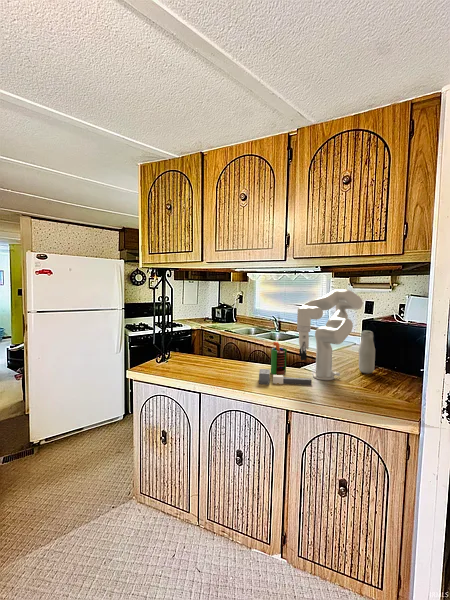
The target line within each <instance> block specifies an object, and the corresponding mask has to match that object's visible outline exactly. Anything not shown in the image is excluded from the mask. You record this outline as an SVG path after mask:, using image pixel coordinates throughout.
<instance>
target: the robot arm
mask: <svg viewBox="0 0 450 600" xmlns="http://www.w3.org/2000/svg"><path fill="white" fill-rule="evenodd" d="M363 303H364V302H363V299H362V297H361V296H359V295H358V294H357V293H355V292H353V291H351V290H350V289H333V290H332V291H330V292H329V293H327V294H325V295H324V296H322V297H319V298H316V299H313V300H310V301H307V302H305V303H303V304H302V305H301V306H299V307H298V308H297V318H296V321H297V323H296V332H298V346H299V354H298V355H299V357H300V361H307V356H308V355H307V354H308V353H307V350H309V347H310V345H309V344H310V340H309V339H310V335H309V334H310V332H311V326H312V325H311V323H312V321H311V320H315V321H316V320H320V319H321V318H323V316H324V311H328V310H331V309H333V308H334V307H335V313H334V314H333V315H331V317H330V318H328V320H327V322H326V323H325V326H319V327H318V328H316V329H315V331H314V338H315V344H316V345H315V346H316V350H315V351H316V352H315V353H316V354H315V373H313V375H312V377H313V378H314V379H316V380H322V381H331V380H334V379H335V376H337V377H339V376H341V374H340V373H341V372H337V371H333V346H332V345H341V344H342V343H343V342H345V340H346V339H347V338H348V336H349V335H350V334H351V333H352V331H353V329H354V326H353V325H354V324H353V320H351V319H349V316H348V312H347V310H354V311H358V310H360V309H362V307H363Z"/></svg>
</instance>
